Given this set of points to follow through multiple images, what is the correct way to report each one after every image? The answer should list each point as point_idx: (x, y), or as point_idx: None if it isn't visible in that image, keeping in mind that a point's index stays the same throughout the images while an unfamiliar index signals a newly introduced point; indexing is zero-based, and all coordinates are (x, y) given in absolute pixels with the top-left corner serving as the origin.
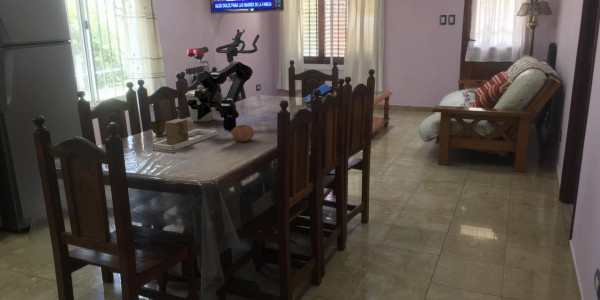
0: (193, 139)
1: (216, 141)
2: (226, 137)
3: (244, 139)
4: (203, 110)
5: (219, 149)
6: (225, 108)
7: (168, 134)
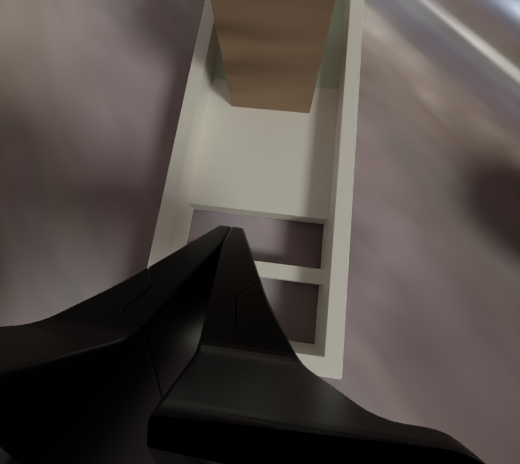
0: (188, 86)
1: (116, 240)
2: None
3: None
4: (90, 302)
5: (33, 95)
6: None
7: None
